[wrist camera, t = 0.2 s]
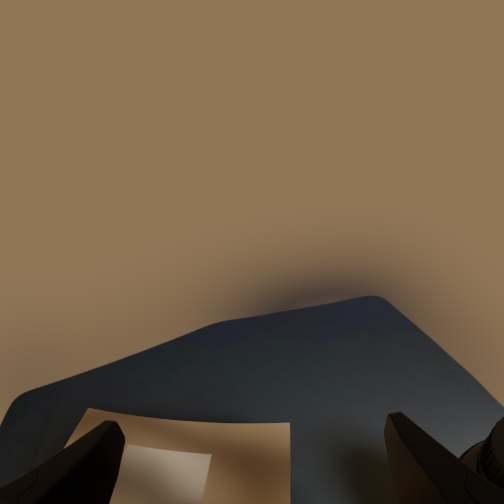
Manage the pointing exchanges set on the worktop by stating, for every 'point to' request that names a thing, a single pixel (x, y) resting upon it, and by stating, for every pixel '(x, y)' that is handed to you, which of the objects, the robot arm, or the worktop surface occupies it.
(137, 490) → the mailer lid
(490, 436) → the supplement bottle
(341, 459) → the worktop surface
